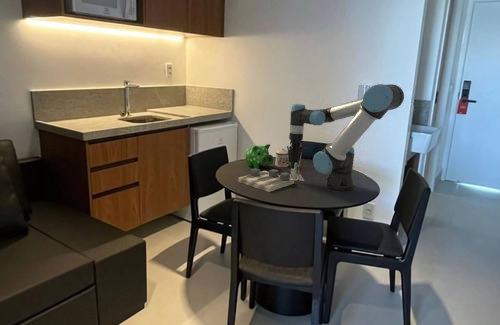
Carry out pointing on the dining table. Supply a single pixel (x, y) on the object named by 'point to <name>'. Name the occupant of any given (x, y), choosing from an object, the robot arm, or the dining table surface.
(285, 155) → the teacup with lid
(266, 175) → the switch board
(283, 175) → the near tab
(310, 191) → the dining table surface
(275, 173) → the middle tab
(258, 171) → the far tab
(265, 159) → the piggy bank
